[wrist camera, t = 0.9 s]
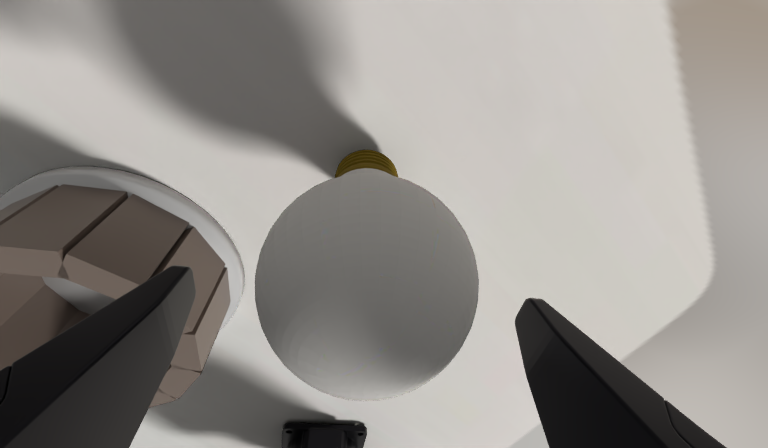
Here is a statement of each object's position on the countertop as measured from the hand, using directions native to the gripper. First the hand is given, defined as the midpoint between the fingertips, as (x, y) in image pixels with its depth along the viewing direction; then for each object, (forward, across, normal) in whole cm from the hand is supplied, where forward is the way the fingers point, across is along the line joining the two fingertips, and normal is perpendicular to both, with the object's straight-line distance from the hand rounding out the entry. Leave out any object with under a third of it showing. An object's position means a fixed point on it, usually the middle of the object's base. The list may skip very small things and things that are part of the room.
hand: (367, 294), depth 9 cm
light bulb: (+8, 0, 0) cm, 8 cm away
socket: (+7, +11, +7) cm, 15 cm away
